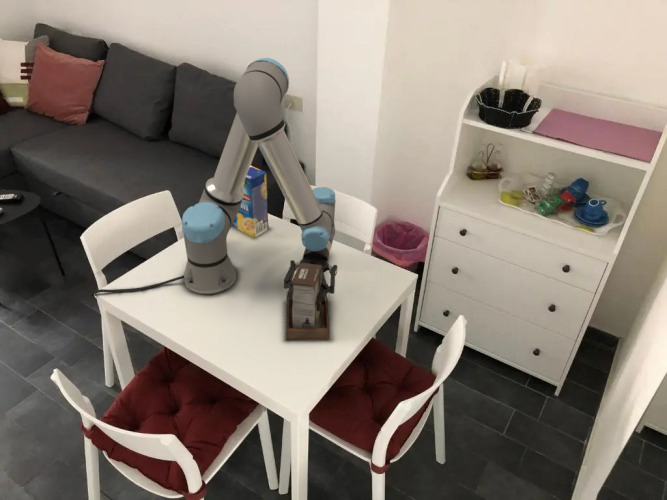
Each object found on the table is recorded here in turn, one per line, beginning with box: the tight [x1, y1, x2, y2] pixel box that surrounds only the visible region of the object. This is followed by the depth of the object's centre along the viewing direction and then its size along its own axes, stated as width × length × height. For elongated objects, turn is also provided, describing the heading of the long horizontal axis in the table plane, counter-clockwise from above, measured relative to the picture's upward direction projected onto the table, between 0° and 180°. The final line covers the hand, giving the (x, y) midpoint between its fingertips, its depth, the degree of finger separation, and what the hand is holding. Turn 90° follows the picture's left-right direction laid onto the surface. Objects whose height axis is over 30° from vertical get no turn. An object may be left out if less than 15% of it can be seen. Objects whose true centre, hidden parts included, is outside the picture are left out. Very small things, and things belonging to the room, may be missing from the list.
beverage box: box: [231, 164, 269, 238], centre depth 181 cm, size 7×11×22 cm, turn 52°
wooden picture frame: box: [285, 295, 331, 341], centre depth 149 cm, size 12×15×4 cm
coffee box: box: [292, 263, 322, 328], centre depth 145 cm, size 9×6×16 cm
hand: (304, 305), depth 140 cm, fingers closed on coffee box, 7 cm apart
